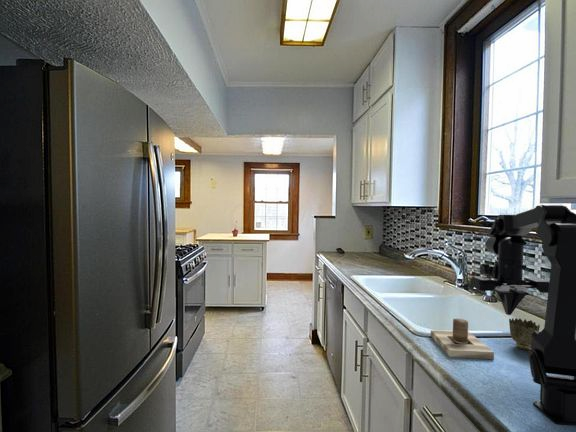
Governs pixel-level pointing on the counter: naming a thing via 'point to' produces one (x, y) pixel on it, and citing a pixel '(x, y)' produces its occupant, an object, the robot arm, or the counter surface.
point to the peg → (460, 331)
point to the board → (462, 346)
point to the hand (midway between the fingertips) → (508, 314)
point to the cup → (522, 332)
